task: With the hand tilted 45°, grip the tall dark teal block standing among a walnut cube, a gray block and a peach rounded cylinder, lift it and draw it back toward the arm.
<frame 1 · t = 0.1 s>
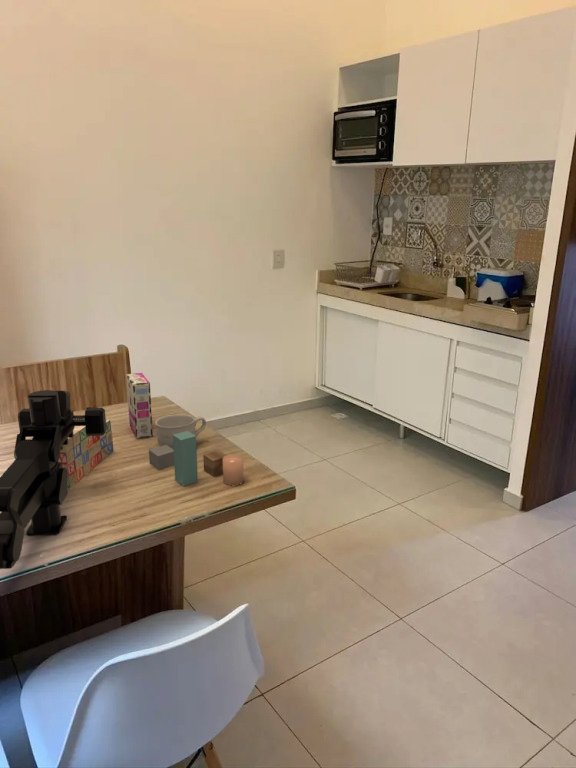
hand: (73, 409, 139), 17 cm above the table, tool horizontal, fingers open, 9 cm apart
walnut cube: (216, 471, 146), on the table
teacup: (182, 446, 160), on the table
stack of blocks: (82, 468, 147), on the table
peach rounded cylinder: (233, 481, 141), on the table
candy bar box: (141, 431, 170), on the table
gray block: (163, 464, 149), on the table
teal block: (186, 480, 141), on the table
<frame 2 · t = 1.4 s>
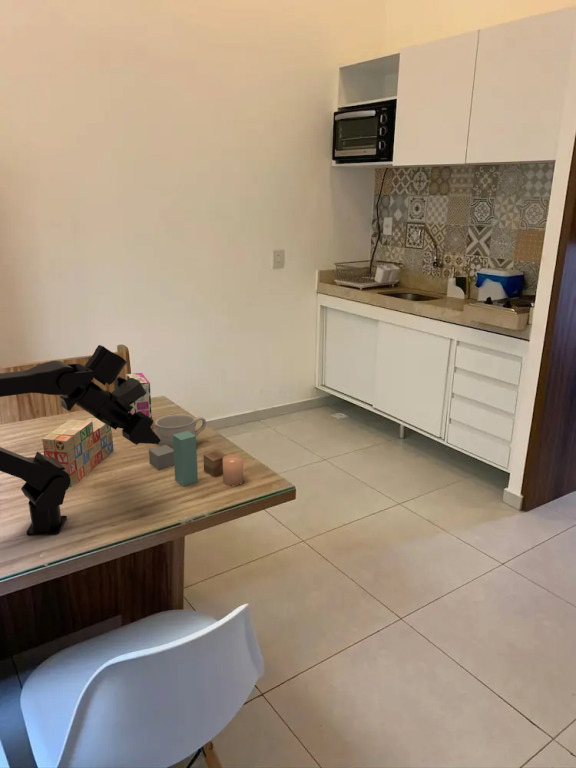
hand: (149, 435, 132), 14 cm above the table, tool tilted 45°, fingers open, 9 cm apart
nothing on the table moved.
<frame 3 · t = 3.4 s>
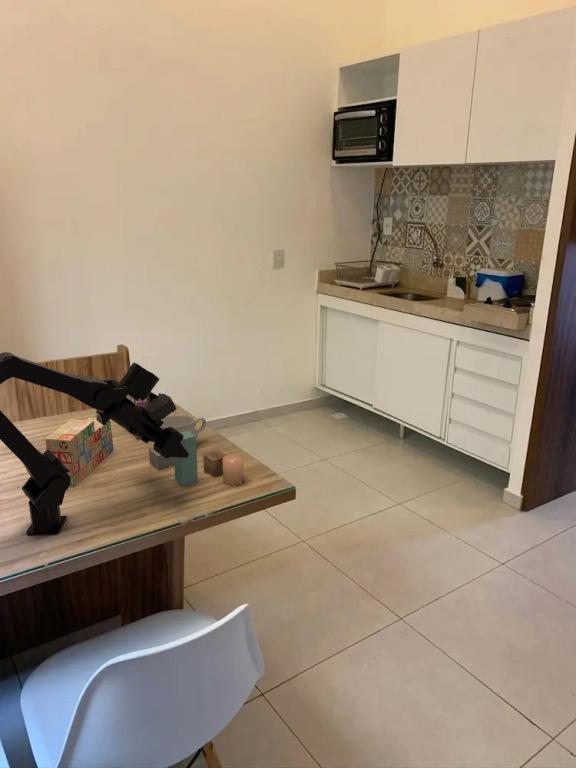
hand: (177, 449, 137), 9 cm above the table, tool tilted 45°, fingers open, 9 cm apart
nothing on the table moved.
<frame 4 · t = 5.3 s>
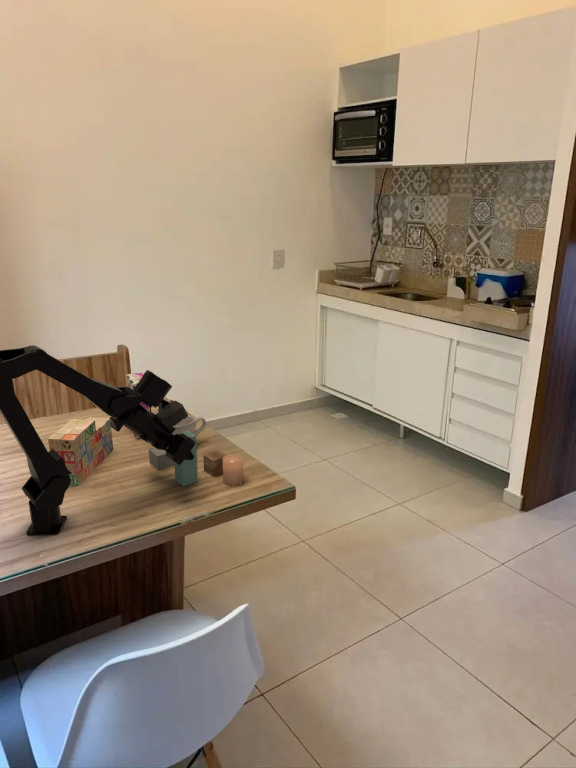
hand: (188, 455, 139), 7 cm above the table, tool tilted 45°, fingers closed on teal block, 4 cm apart
teal block: (186, 480, 141), on the table, touching gripper
everything else where it was.
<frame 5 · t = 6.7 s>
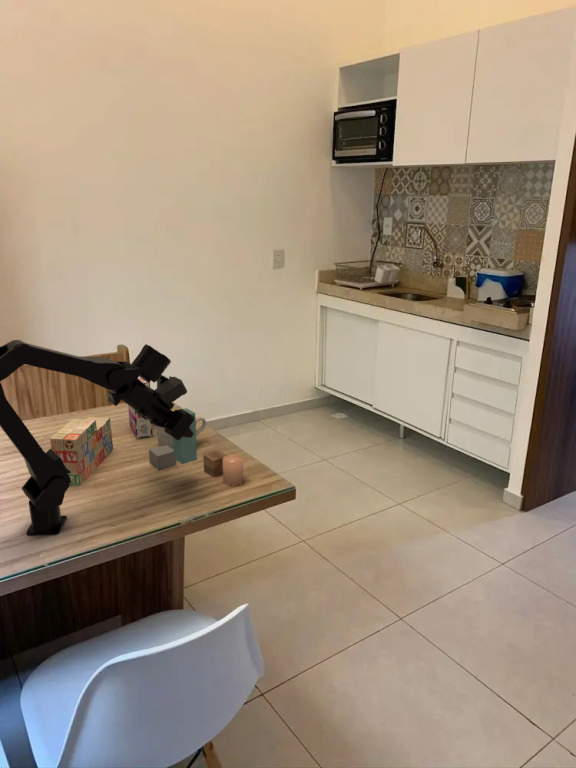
hand: (187, 432, 137), 12 cm above the table, tool tilted 45°, fingers closed on teal block, 4 cm apart
teal block: (185, 459, 139), point 6 cm above the table, touching gripper
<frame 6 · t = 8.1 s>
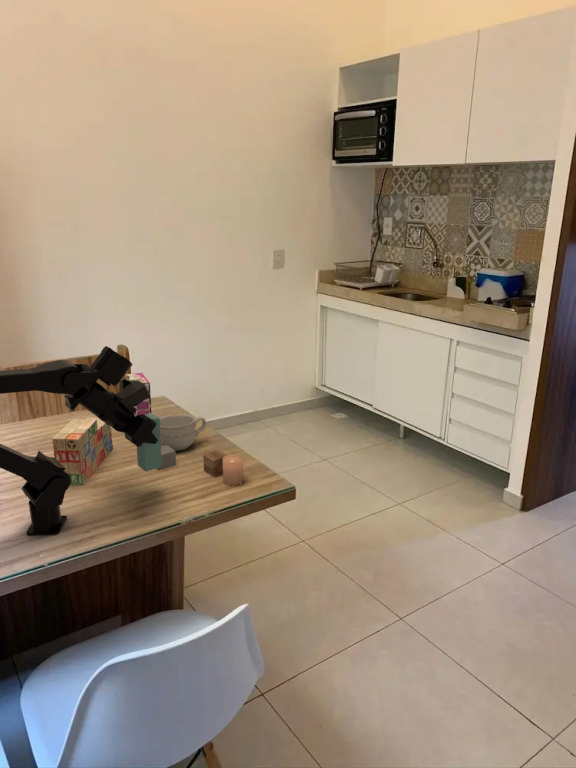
hand: (151, 438, 132), 13 cm above the table, tool tilted 45°, fingers closed on teal block, 4 cm apart
teal block: (149, 466, 133), point 7 cm above the table, touching gripper
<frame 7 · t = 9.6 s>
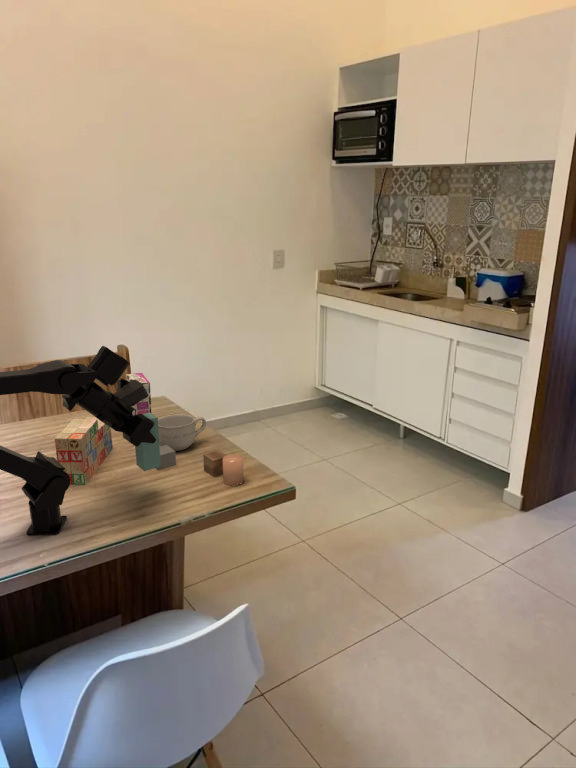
hand: (150, 438, 131), 13 cm above the table, tool tilted 45°, fingers closed on teal block, 4 cm apart
teal block: (148, 465, 133), point 7 cm above the table, touching gripper
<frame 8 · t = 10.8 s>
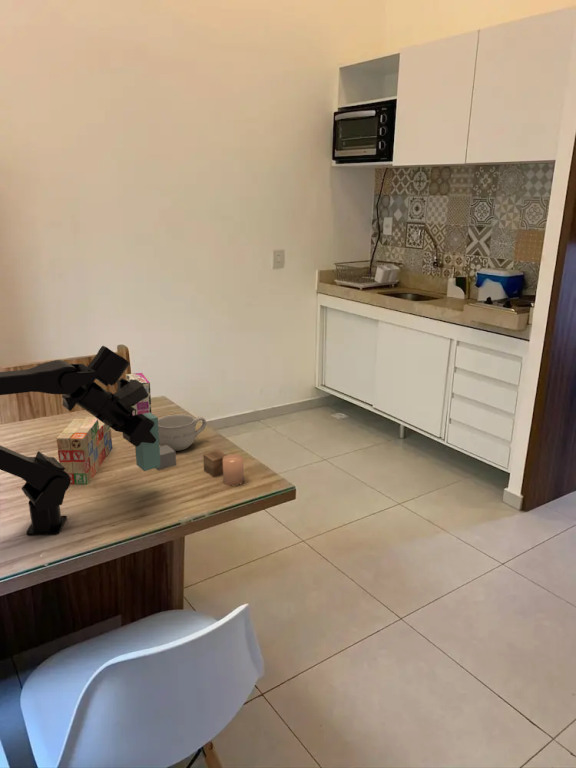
hand: (150, 438, 131), 13 cm above the table, tool tilted 45°, fingers closed on teal block, 4 cm apart
teal block: (148, 465, 133), point 7 cm above the table, touching gripper
at the end: the gripper is holding teal block; teal block point 6.9 cm above the table; teal block moved 11.8 cm from its start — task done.
